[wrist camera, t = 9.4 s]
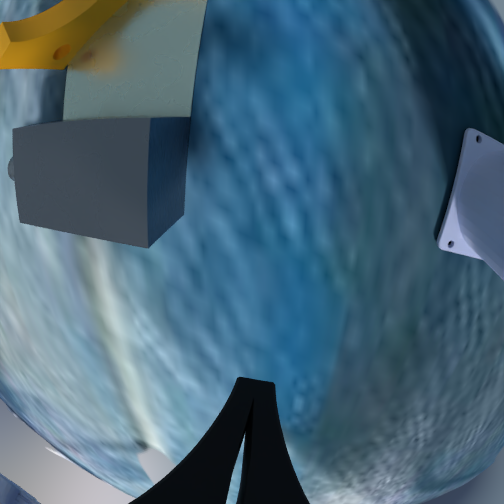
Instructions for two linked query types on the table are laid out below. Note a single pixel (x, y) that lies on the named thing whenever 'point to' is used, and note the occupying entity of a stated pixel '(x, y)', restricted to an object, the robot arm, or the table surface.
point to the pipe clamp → (53, 34)
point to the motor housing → (117, 130)
